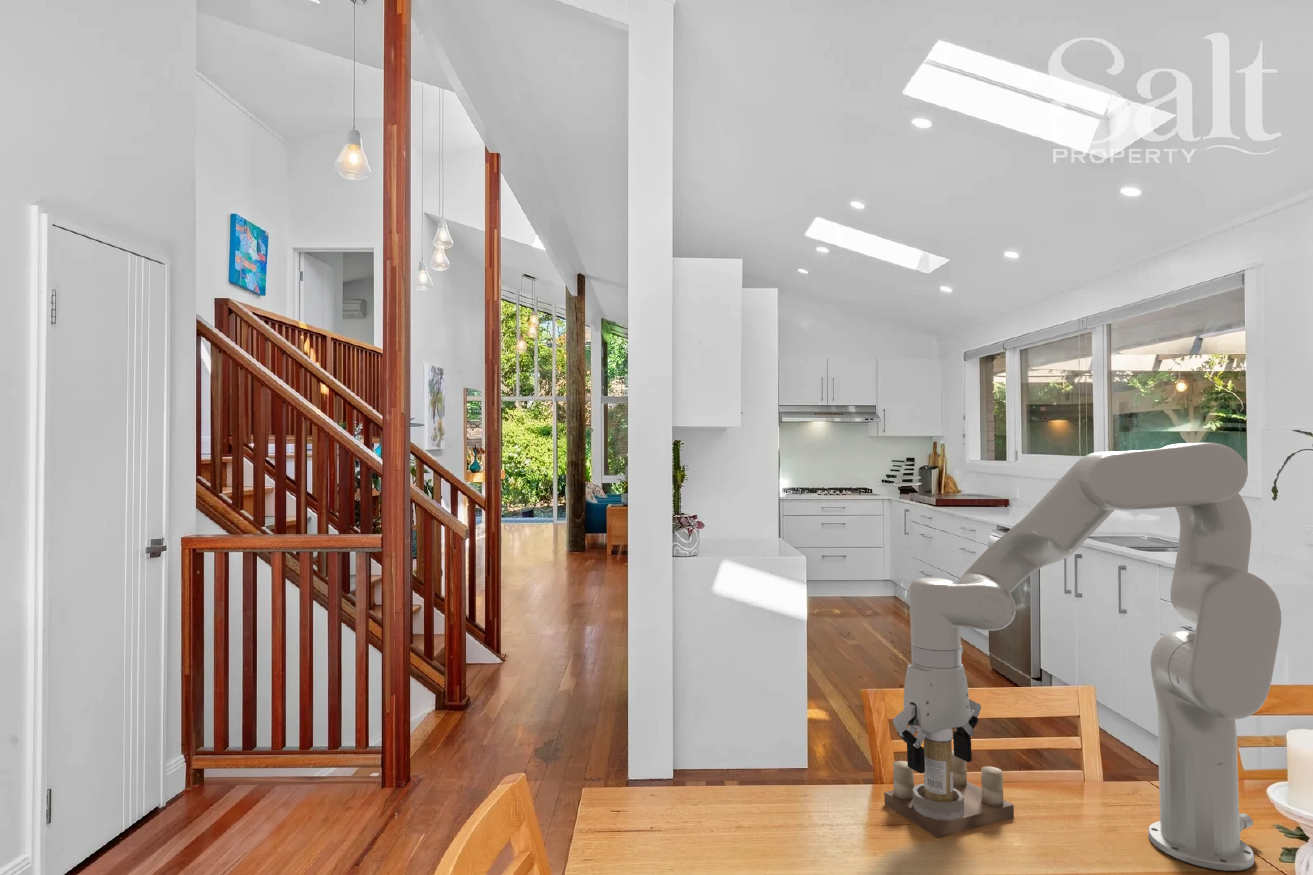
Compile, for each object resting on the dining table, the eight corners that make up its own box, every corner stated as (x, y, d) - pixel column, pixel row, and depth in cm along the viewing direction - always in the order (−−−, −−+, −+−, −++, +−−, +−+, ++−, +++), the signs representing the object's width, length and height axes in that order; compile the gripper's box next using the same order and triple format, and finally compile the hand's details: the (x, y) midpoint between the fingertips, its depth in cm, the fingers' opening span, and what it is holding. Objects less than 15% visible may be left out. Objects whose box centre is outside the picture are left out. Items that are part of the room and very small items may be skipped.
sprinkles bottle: (960, 810, 117) (958, 725, 117) (942, 818, 114) (940, 731, 114) (935, 799, 120) (933, 717, 121) (917, 807, 118) (915, 722, 118)
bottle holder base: (956, 786, 130) (956, 746, 130) (1013, 817, 118) (1012, 773, 119) (884, 804, 123) (883, 762, 123) (937, 837, 112) (937, 791, 112)
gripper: (958, 645, 125) (962, 746, 124) (877, 657, 118) (880, 765, 117) (994, 655, 118) (998, 763, 117) (910, 669, 111) (914, 784, 111)
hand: (939, 764), depth 117 cm, fingers open, 9 cm apart
